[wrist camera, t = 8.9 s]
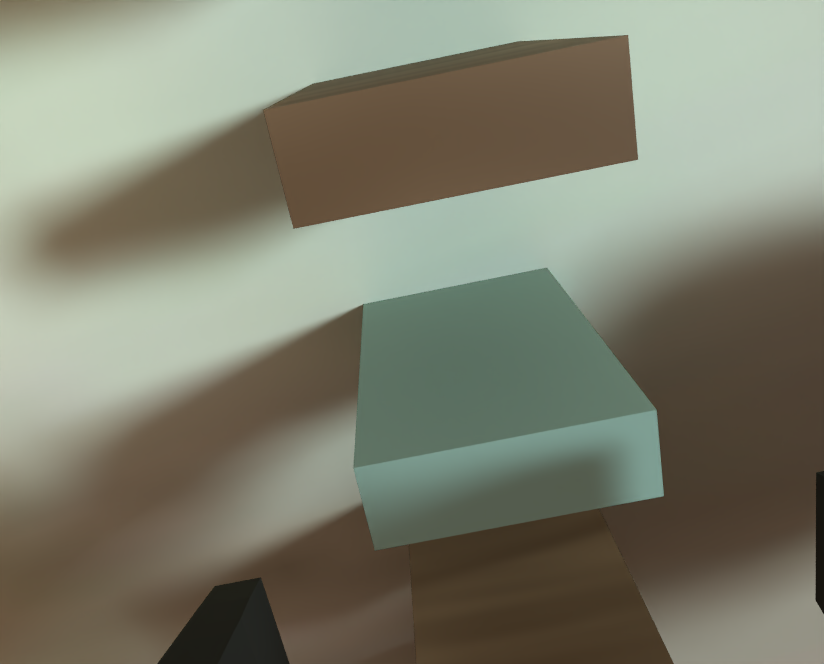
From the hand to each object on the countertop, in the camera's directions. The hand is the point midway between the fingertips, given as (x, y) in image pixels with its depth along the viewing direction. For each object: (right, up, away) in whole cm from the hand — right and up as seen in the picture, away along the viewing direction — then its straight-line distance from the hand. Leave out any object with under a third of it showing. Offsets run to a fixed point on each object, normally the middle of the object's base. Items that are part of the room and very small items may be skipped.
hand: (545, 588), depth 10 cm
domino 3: (+1, -1, +12) cm, 12 cm away
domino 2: (0, +4, +10) cm, 10 cm away
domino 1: (-2, +9, +8) cm, 12 cm away
